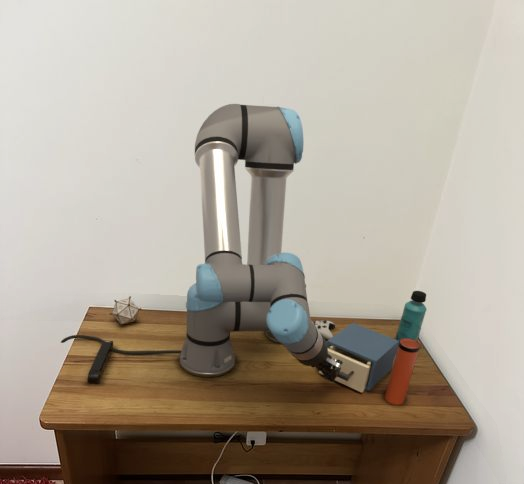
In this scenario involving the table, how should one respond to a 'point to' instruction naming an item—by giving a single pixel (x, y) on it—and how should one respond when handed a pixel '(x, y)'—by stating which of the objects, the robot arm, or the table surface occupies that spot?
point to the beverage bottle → (412, 317)
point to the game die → (125, 311)
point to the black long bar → (100, 362)
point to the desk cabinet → (367, 349)
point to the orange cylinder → (402, 370)
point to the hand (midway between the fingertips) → (333, 376)
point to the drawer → (351, 369)
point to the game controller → (325, 328)
